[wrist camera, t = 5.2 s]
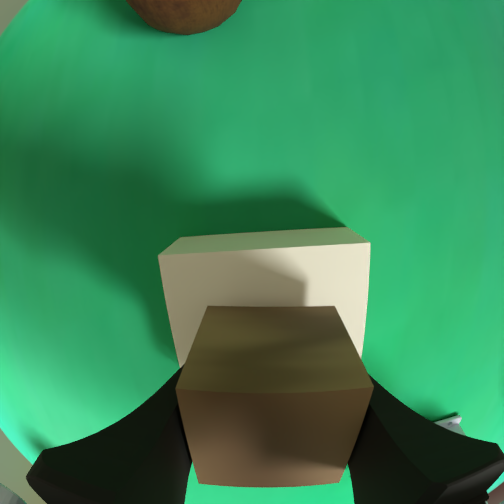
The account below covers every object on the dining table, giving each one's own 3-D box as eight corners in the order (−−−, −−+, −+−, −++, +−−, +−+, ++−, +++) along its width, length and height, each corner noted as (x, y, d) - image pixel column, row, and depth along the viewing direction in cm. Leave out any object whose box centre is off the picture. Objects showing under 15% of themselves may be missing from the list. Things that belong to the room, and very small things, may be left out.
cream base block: (345, 225, 16) (370, 242, 12) (339, 363, 18) (354, 402, 14) (181, 236, 16) (157, 255, 12) (203, 370, 18) (191, 411, 15)
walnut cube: (334, 305, 11) (373, 386, 7) (321, 398, 13) (339, 482, 8) (207, 305, 12) (175, 388, 7) (215, 398, 13) (199, 483, 8)
